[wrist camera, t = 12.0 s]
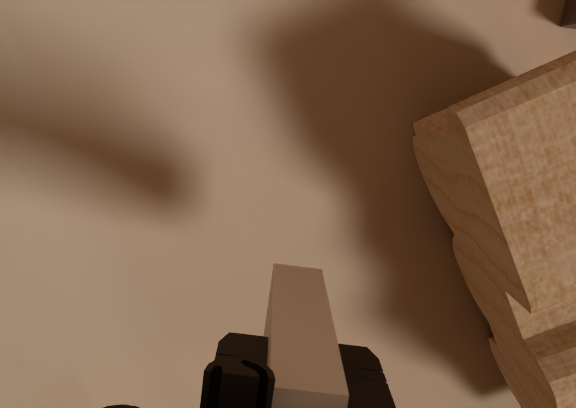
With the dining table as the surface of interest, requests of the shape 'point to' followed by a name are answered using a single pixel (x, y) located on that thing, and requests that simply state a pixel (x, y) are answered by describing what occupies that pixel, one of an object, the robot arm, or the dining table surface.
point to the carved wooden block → (514, 220)
